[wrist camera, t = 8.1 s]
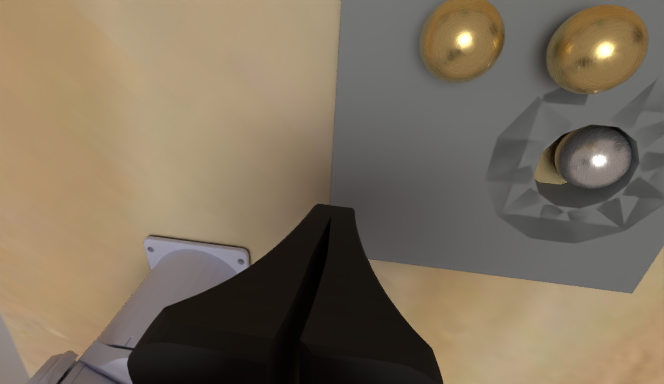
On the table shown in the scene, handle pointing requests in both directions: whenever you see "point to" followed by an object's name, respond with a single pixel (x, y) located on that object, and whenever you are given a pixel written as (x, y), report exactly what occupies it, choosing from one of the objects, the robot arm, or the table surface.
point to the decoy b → (597, 49)
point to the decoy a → (462, 40)
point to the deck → (493, 151)
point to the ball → (593, 156)
